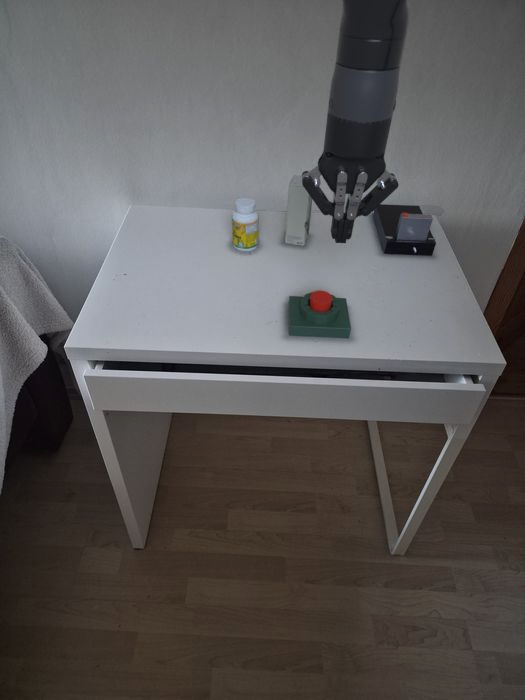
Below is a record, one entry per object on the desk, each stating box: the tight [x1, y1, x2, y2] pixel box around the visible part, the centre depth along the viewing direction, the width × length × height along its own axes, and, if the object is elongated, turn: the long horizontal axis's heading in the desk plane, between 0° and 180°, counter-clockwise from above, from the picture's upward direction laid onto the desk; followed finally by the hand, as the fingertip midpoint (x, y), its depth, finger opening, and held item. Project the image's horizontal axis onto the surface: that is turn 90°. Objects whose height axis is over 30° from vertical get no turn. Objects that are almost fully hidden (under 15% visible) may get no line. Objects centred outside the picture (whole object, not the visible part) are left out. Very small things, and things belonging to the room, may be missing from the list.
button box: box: [288, 291, 352, 339], centre depth 75 cm, size 10×8×4 cm
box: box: [284, 174, 313, 247], centre depth 91 cm, size 5×4×13 cm
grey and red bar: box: [395, 213, 434, 241], centre depth 89 cm, size 6×2×5 cm, turn 88°
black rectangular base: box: [372, 203, 437, 257], centre depth 95 cm, size 20×10×3 cm, turn 178°
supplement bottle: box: [231, 197, 260, 252], centre depth 90 cm, size 5×5×10 cm
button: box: [309, 289, 332, 312], centre depth 74 cm, size 4×4×2 cm
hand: (339, 240), depth 64 cm, fingers closed
